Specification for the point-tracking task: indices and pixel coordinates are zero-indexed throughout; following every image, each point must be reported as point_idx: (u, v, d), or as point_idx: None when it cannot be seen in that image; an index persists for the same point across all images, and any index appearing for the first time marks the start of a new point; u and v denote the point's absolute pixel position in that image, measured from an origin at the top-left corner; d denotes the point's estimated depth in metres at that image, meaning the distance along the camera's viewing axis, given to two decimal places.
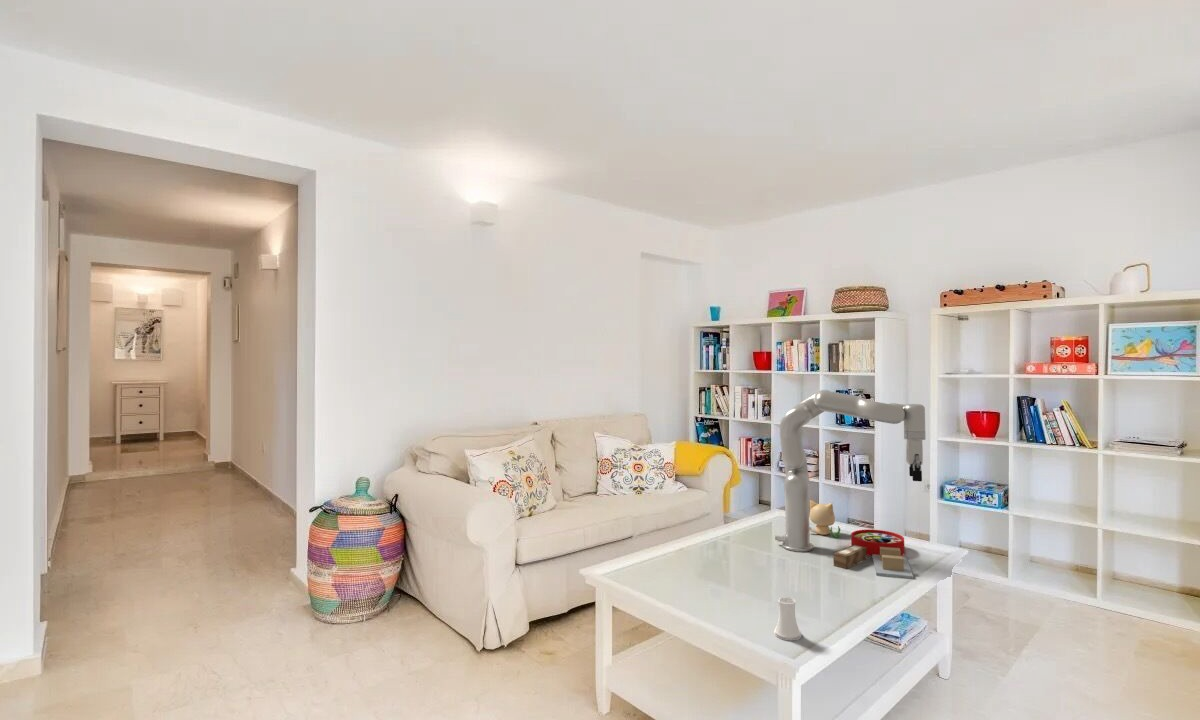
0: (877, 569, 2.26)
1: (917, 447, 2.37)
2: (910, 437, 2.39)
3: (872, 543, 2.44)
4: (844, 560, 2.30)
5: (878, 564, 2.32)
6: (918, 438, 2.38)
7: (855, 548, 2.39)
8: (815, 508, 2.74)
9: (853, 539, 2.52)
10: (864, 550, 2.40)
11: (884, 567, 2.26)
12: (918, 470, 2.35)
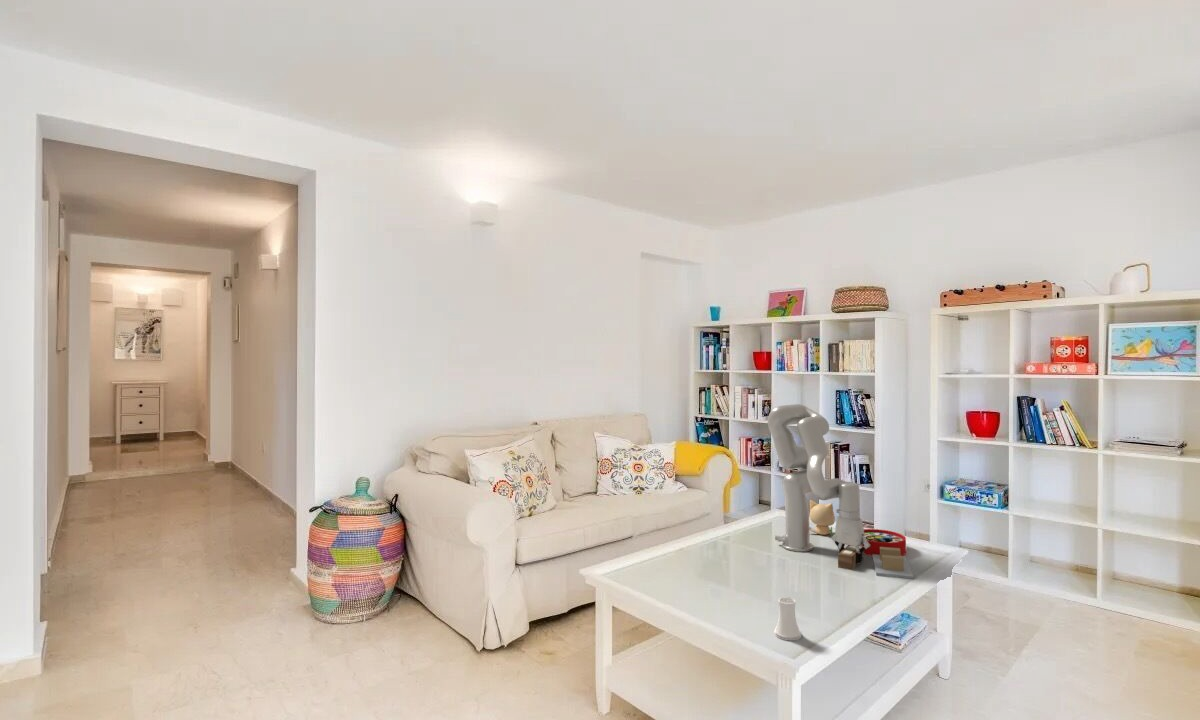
0: (877, 569, 2.26)
1: (861, 526, 2.34)
2: (855, 518, 2.33)
3: (874, 543, 2.44)
4: (850, 560, 2.29)
5: (878, 564, 2.32)
6: (859, 517, 2.35)
7: (854, 547, 2.39)
8: (815, 508, 2.74)
9: None
10: None
11: (884, 567, 2.26)
12: None
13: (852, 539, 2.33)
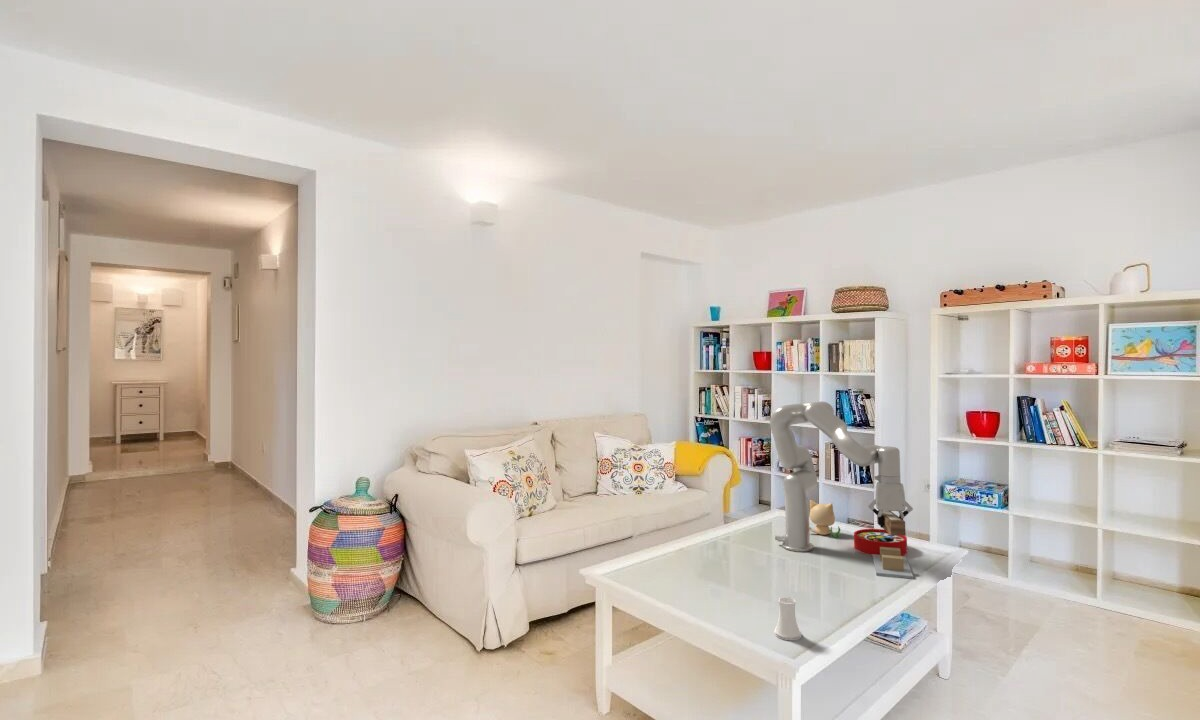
0: (877, 569, 2.26)
1: None
2: (899, 482, 2.28)
3: (875, 542, 2.45)
4: (904, 525, 2.23)
5: (878, 564, 2.32)
6: None
7: (889, 513, 2.34)
8: (815, 508, 2.74)
9: (856, 538, 2.53)
10: None
11: (884, 567, 2.26)
12: None
13: (897, 504, 2.28)
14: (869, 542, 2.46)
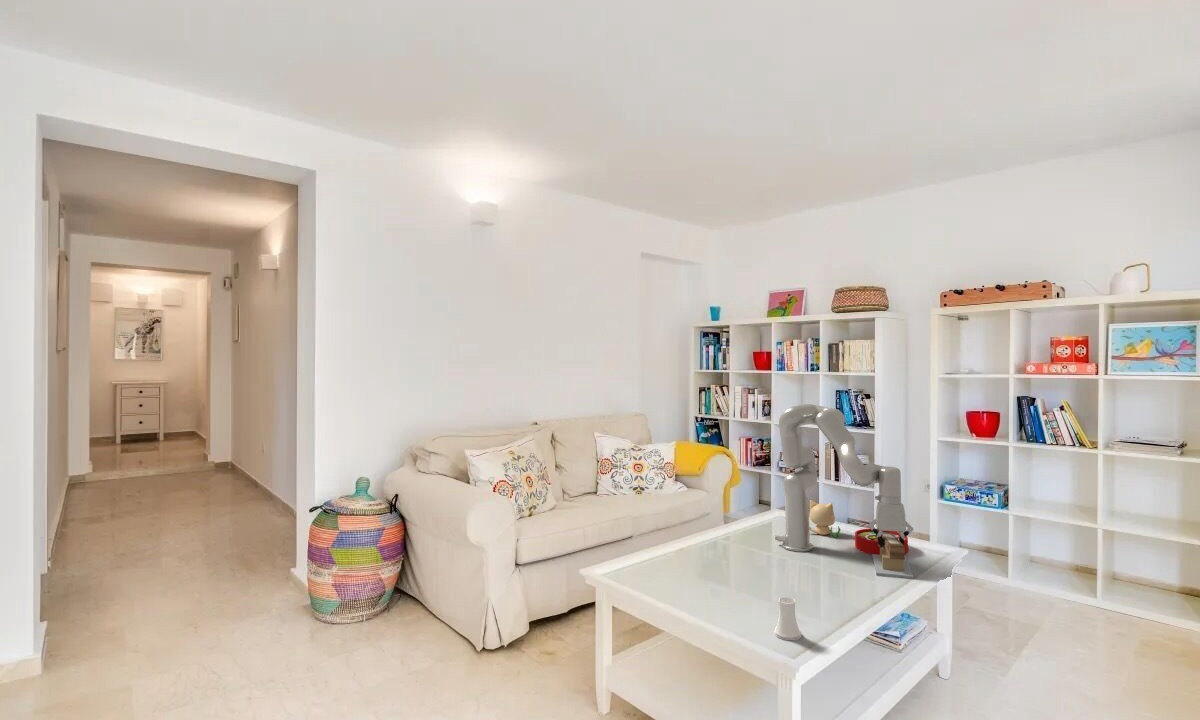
0: (877, 569, 2.26)
1: None
2: (900, 502, 2.28)
3: (876, 542, 2.45)
4: (903, 549, 2.23)
5: (878, 564, 2.32)
6: None
7: (889, 536, 2.34)
8: (815, 508, 2.74)
9: (857, 538, 2.53)
10: None
11: (884, 567, 2.26)
12: None
13: (898, 525, 2.28)
14: (870, 542, 2.47)
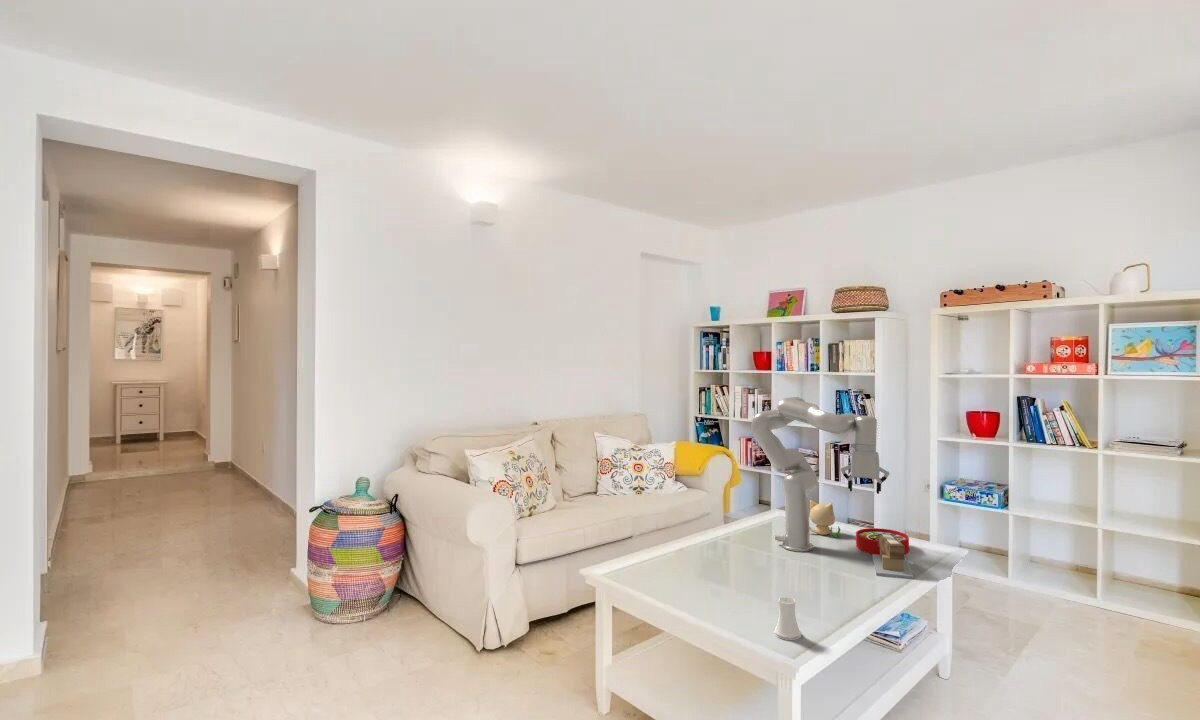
0: (877, 569, 2.26)
1: None
2: (874, 450, 2.33)
3: (877, 542, 2.45)
4: (903, 549, 2.23)
5: (878, 564, 2.32)
6: None
7: (889, 536, 2.34)
8: (815, 508, 2.74)
9: (858, 538, 2.53)
10: None
11: (884, 567, 2.26)
12: None
13: (872, 472, 2.33)
14: (871, 541, 2.47)
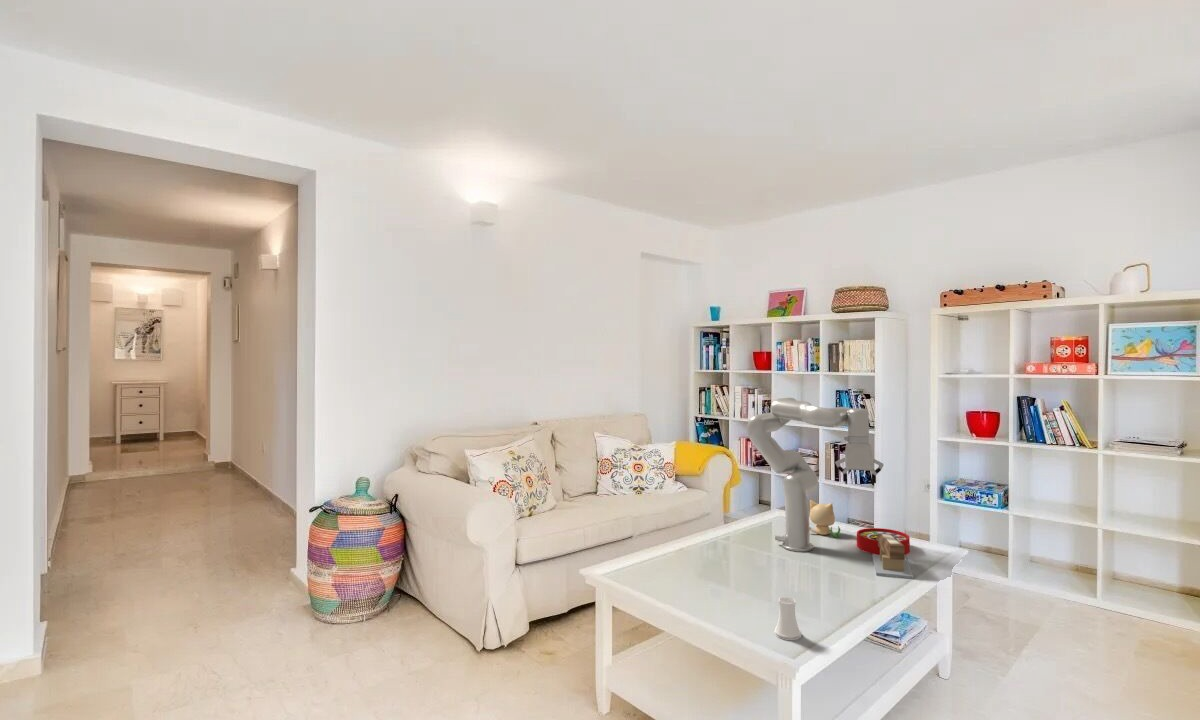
0: (877, 569, 2.26)
1: None
2: (867, 442, 2.35)
3: None
4: (903, 549, 2.23)
5: (878, 564, 2.32)
6: None
7: (889, 536, 2.34)
8: (815, 508, 2.74)
9: (859, 538, 2.54)
10: None
11: (884, 567, 2.26)
12: None
13: (866, 464, 2.34)
14: (872, 541, 2.47)
